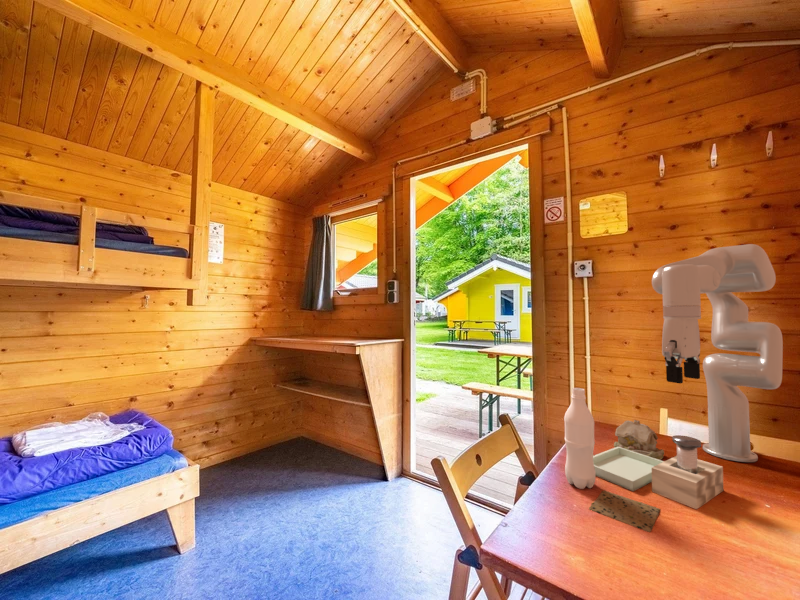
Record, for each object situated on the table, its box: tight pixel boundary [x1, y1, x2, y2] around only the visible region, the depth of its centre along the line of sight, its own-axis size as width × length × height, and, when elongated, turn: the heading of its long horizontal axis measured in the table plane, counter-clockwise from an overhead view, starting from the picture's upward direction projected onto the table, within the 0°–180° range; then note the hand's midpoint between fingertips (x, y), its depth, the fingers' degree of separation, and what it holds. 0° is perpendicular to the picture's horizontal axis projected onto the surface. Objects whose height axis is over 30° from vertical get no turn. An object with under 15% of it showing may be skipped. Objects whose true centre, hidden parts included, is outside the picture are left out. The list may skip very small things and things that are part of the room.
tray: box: [593, 447, 665, 492], centre depth 98 cm, size 20×14×2 cm
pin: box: [671, 434, 702, 474], centre depth 87 cm, size 6×6×13 cm
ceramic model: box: [613, 419, 665, 460], centre depth 112 cm, size 14×11×10 cm
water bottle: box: [563, 387, 597, 490], centre depth 91 cm, size 7×7×25 cm
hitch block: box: [651, 455, 724, 510], centre depth 87 cm, size 16×9×6 cm, turn 120°
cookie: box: [588, 489, 661, 533], centre depth 80 cm, size 12×12×1 cm
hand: (683, 380), depth 88 cm, fingers open, 9 cm apart
